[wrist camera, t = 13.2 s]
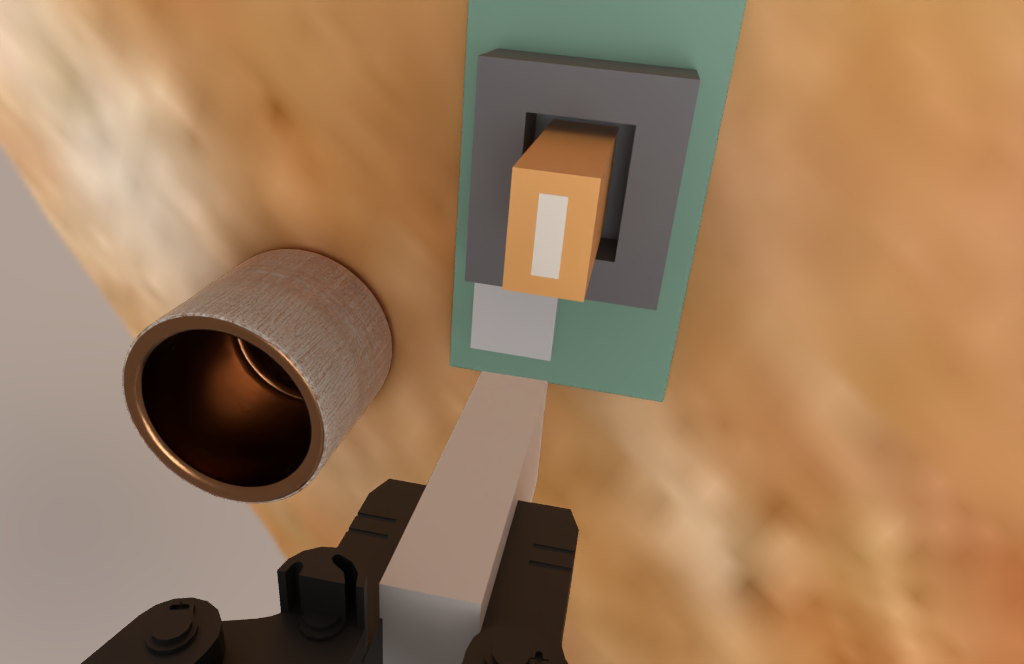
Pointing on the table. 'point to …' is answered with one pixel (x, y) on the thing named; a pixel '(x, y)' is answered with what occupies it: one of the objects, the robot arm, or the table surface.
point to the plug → (559, 209)
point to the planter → (259, 375)
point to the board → (633, 190)
